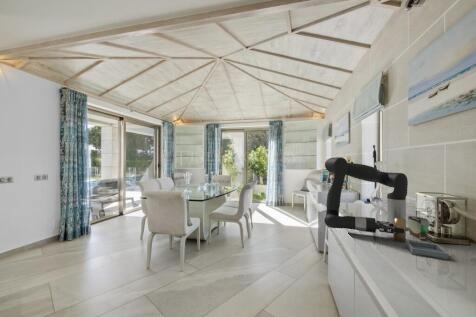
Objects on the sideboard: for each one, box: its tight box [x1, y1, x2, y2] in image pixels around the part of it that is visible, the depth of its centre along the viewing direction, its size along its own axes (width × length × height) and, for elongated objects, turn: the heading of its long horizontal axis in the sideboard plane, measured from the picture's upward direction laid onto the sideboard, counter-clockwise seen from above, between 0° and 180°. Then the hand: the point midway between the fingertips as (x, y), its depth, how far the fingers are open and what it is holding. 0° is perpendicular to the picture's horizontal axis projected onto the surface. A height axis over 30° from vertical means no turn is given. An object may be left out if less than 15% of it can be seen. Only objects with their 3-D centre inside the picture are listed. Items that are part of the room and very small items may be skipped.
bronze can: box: [392, 217, 407, 243], centre depth 110 cm, size 5×5×11 cm
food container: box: [407, 215, 431, 241], centre depth 115 cm, size 12×6×10 cm, turn 168°
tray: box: [405, 239, 449, 261], centre depth 95 cm, size 12×12×2 cm
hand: (402, 228), depth 109 cm, fingers open, 8 cm apart
